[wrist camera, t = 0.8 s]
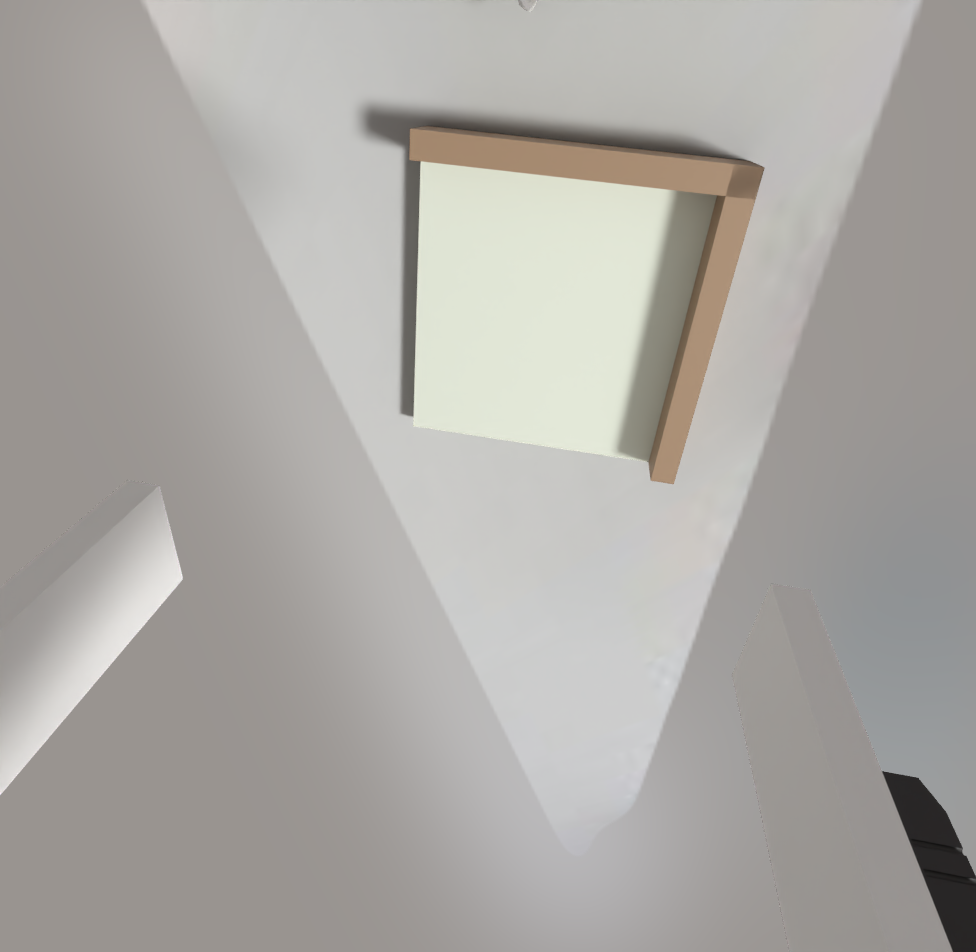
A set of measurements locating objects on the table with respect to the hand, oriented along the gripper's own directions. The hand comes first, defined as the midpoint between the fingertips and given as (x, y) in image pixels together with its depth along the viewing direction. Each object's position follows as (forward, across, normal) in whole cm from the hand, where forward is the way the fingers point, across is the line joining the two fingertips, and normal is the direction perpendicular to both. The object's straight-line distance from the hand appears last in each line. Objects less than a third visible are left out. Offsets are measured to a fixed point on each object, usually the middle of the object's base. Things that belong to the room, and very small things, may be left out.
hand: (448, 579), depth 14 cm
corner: (+22, 0, -1) cm, 22 cm away
